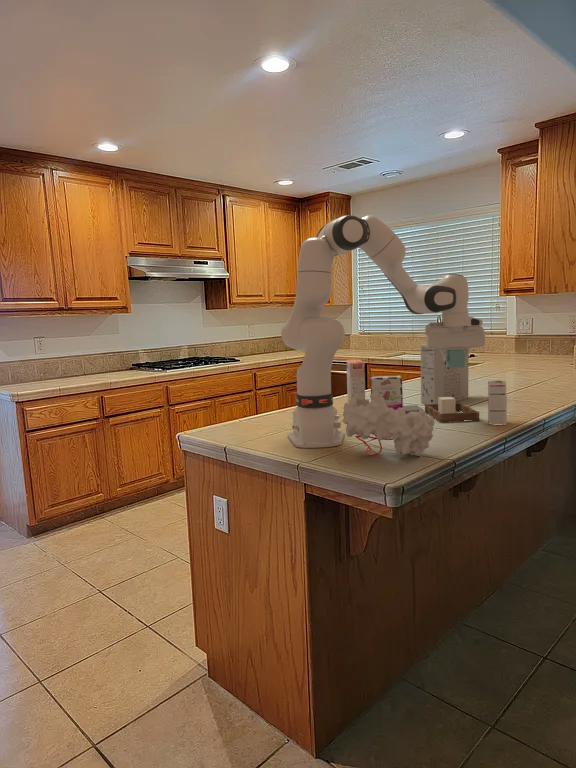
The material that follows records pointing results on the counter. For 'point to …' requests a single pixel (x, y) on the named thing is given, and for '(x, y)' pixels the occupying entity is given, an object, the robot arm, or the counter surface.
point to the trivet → (412, 408)
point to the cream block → (446, 405)
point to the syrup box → (497, 402)
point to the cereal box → (441, 377)
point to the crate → (446, 417)
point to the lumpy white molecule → (388, 424)
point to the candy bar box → (388, 390)
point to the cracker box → (355, 379)
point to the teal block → (455, 358)
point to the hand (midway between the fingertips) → (455, 360)
